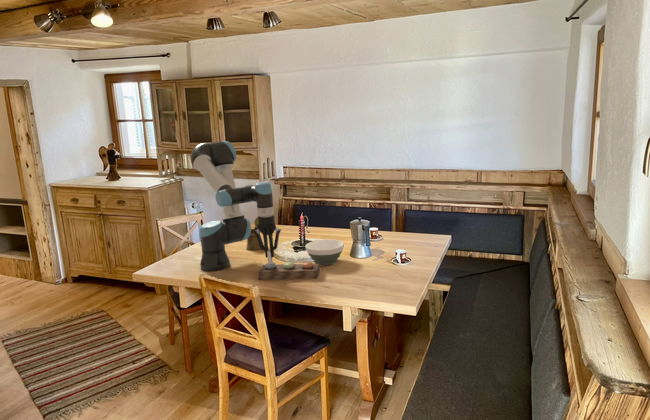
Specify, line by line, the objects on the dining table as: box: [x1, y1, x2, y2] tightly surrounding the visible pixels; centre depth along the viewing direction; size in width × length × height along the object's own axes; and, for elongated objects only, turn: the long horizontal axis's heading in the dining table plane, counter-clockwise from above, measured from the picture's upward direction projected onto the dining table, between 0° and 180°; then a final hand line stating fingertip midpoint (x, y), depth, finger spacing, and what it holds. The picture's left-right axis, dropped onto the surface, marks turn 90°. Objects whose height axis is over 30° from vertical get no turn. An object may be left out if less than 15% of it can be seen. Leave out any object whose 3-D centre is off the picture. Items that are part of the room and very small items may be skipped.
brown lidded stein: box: [246, 215, 261, 251], centre depth 274 cm, size 9×14×18 cm, turn 148°
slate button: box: [264, 262, 277, 270], centre depth 224 cm, size 5×5×4 cm
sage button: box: [283, 261, 295, 269], centre depth 223 cm, size 5×5×4 cm
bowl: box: [305, 238, 345, 267], centre depth 239 cm, size 20×20×10 cm
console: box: [257, 263, 321, 281], centre depth 223 cm, size 28×10×4 cm, turn 83°
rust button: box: [302, 261, 314, 269], centre depth 222 cm, size 5×5×4 cm
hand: (270, 263), depth 223 cm, fingers closed
